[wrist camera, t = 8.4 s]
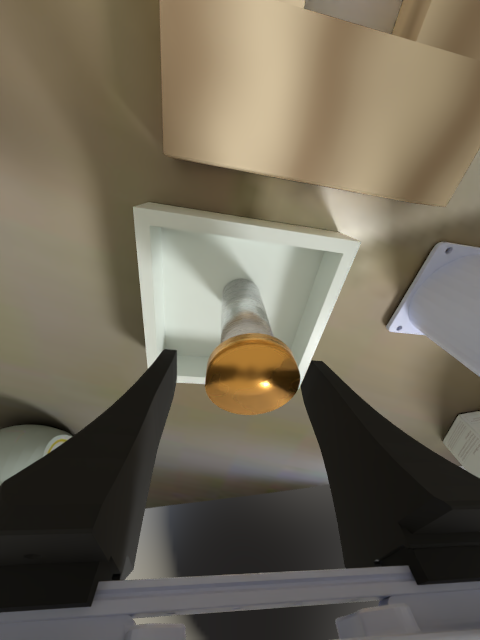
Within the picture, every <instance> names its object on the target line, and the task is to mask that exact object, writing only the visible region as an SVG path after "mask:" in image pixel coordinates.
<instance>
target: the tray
mask: <svg viewBox="0 0 480 640" xmlns="http://www.w3.org/2000/svg"><path fill="white" fill-rule="evenodd" d="M133 215H134V225H135V236H136V247H137V258H138V268H139V279H140V290H141V301H142V312H143V322H144V333H145V344H146V355H147V365H148V368H149V367H150V366H151V365H152V364H153V362H154V361H155V360H156V359H157V357H158V356H159V355H160V353H161V352H162V351H163V350H164V349H170V350H177V381H176V382H178V383H196V384H205V379H206V370H207V363H208V359H209V357H210V355H211V353H212V352H213V351H214V349H215V348H216V347H217V346H218V345H220V340H221V309H222V292H223V289H224V287H225V286H226V285H227V284H228V283H229V282H230V281H232V280H235V279H239V278H244V279H248V280H251V281H252V282H254V283H255V284H256V285H257V287H258V289H259V291H260V295H261V298H262V301H263V304H264V307H265V310H266V314H267V317H268V320H269V323H270V326H271V330H272V333H273V336H274V337H275V338H278V339H279V340H281V341H282V342H284V343H285V344H286V345H287V346H288V347H289V348H290V350H291V352H292V354H293V356H294V359H295V361H296V364H297V366H298V369H299V372H300V385H301V382H302V380H303V378H304V375H305V373H306V371H307V368H308V366H309V364H310V361H311V359H312V356H313V354H314V352H315V349H316V347H317V345H318V342H319V340H320V338H321V335H322V333H323V331H324V328H325V326H326V324H327V321H328V319H329V317H330V314H331V312H332V310H333V307H334V305H335V302H336V300H337V298H338V295H339V293H340V291H341V288H342V286H343V284H344V281H345V279H346V277H347V274H348V272H349V270H350V267H351V265H352V263H353V260H354V258H355V256H356V253H357V251H358V249H359V246H360V244H361V242H360V241H358V240H356V239H353V238H351V237H349V236H347V235H344V234H342V233H340V232H335V231H329V230H323V229H316V228H310V227H304V226H297V225H291V224H285V223H279V222H272V221H266V220H260V219H253V218H247V217H241V216H234V215H228V214H222V213H216V212H209V211H203V210H197V209H190V208H184V207H178V206H171V205H165V204H159V203H152V202H147V203H144V204H140V205H137V206H133ZM300 385H299V387H300ZM298 389H299V388H298Z"/></svg>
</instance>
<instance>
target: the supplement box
mask: <svg viewBox="0 0 480 640" xmlns="http://www.w3.org/2000/svg"><path fill="white" fill-rule="evenodd" d="M443 443H444V445H445V446H446V447H447V448H448V449H449V450H450V452H451V453H452V454H453V455H454V456H455V457H456V459H457V460H458V461H459V462H460V463H461V465H462V466H463V467H464V468H465V469H466V470H467V471H468V472H469V473H471V474H473V475H475V476H477V477H478V478H480V411H476V412H471V413H465V414H460V415H458V416H457V418H456V420H455V421H454V423H453V425H452V426H451V428H450V430H449V431H448V433H447V435H446V437H445V438H444V441H443Z"/></svg>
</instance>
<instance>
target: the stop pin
mask: <svg viewBox="0 0 480 640" xmlns="http://www.w3.org/2000/svg"><path fill="white" fill-rule="evenodd" d="M299 385H300V372H299V369H298V366H297V364H296V361H295V359H294V356H293V354H292V352H291V350H290V348H289V347H288V346H287V345H286V344H285V343H284V342H282V341H281V340H279V339H278V338H275V337H274V336H273V333H272V330H271V326H270V323H269V320H268V317H267V314H266V310H265V307H264V304H263V301H262V298H261V295H260V291H259V289H258V287H257V285H256V284H255V283H254V282H252V281H251V280H248V279H244V278H239V279H235V280H232V281H230V282H229V283H228V284H227V285H226V286H225V287H224V289H223V292H222V309H221V340H220V345H218V346H217V347H216V348H215V349H214V351H213V352H212V353H211V355H210V357H209V359H208V363H207V370H206V379H205V388H206V392H207V395H208V396H209V398H210V399H211V401H212V402H213V403H214V404H216V405H217V406H218V407H220V408H222V409H223V410H226V411H228V412H232V413H236V414H242V415H255V414H262V413H266V412H269V411H272V410H275V409H277V408H279V407H281V406H282V405H284V404H285V403H287V402H288V401H289V400H290V399H291V398H292V397H293V396H294V395H295V393H296V392H297V390H298V388H299Z"/></svg>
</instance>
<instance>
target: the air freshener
mask: <svg viewBox="0 0 480 640" xmlns="http://www.w3.org/2000/svg"><path fill="white" fill-rule="evenodd" d="M71 437H73V436H72V435H71V434H69V433H68V432H65V431H63V430H60V429H57V428H54V427H49V426H44V425H17V426H11V427H7V428H3V429H0V485H1V484H2V483H3V482H4V481H5V480H7V479H8V478H10V477H12V476H13V475H15V474H16V473H18V472H20V471H21V470H23V469H24V468H26V467H28V466H29V465H31V464H32V463H34V462H36V461H37V460H39V459H40V458H42V457H44V456H45V455H47V454H48V453H50V452H51V451H53V450H54V449H55V448H57V447H58V446H60V445H61V444H63V443H64V442H65V441H67V440H68V439H70V438H71Z"/></svg>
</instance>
